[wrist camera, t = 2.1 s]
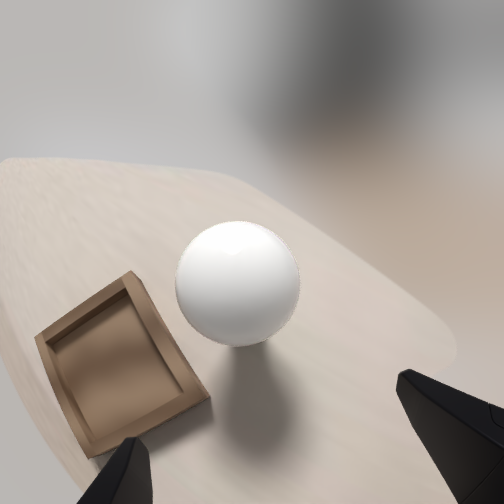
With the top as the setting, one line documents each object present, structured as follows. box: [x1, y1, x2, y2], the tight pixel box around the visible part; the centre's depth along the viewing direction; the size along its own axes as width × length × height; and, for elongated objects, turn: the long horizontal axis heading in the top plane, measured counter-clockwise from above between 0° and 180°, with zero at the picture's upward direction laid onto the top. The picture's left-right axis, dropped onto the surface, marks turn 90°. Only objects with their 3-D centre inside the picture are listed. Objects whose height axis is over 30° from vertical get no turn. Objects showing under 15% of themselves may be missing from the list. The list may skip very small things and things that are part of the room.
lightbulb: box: [175, 221, 300, 346], centre depth 18 cm, size 6×6×11 cm
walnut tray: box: [34, 271, 210, 459], centre depth 20 cm, size 11×11×2 cm
